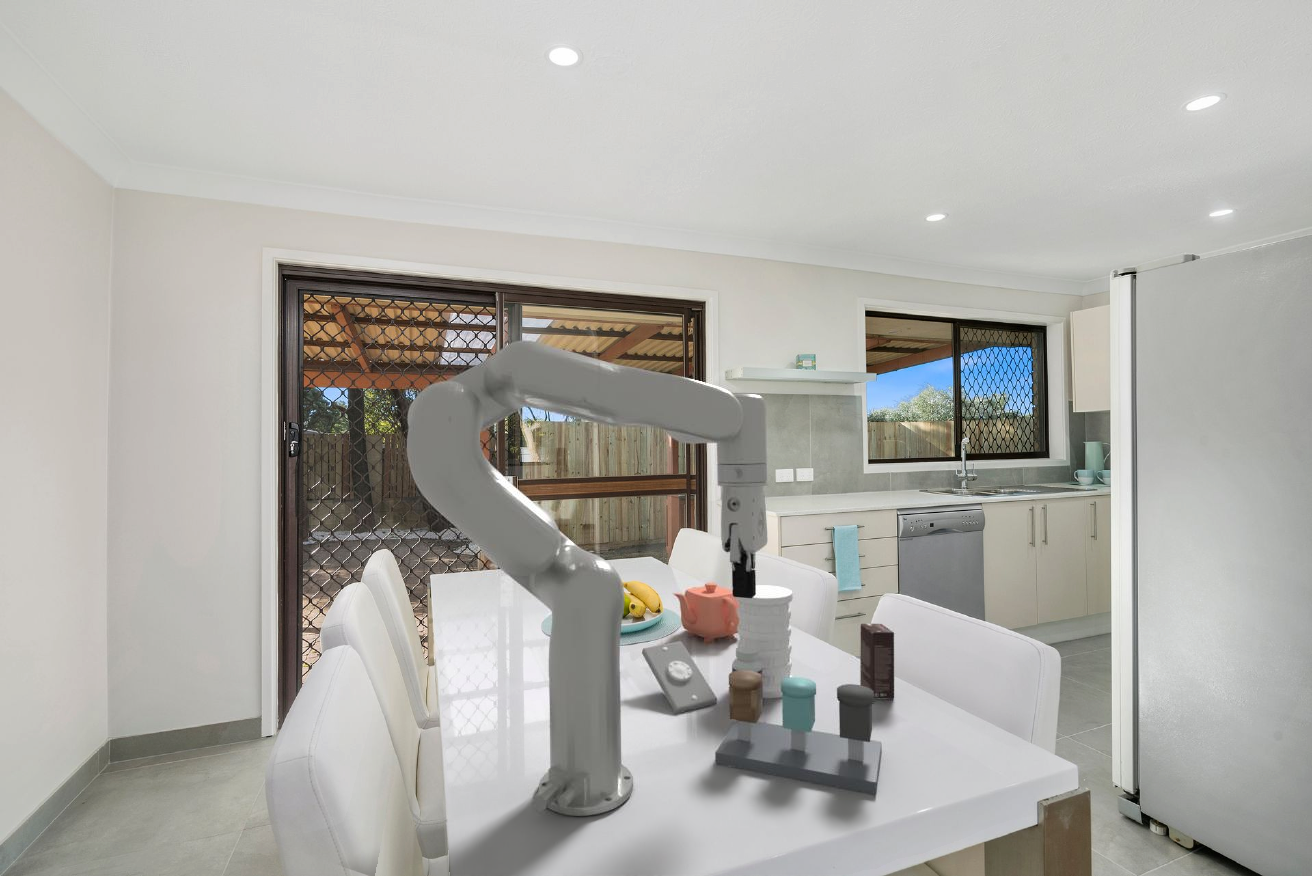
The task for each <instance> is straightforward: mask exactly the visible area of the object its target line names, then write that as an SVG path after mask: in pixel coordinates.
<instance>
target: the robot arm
mask: <svg viewBox="0 0 1312 876" xmlns="http://www.w3.org/2000/svg"><path fill="white" fill-rule="evenodd" d="M524 407H527V408H532V409H536V410H541V411H545V412H549V413H553V414H558V415H563V416H567V417H570V418H574V419H579V420H583V421H587V422H591V423H595V424H599V425H605V426H613V427H620V428H621V427H631V428H633V427H635V428H636V427H638V428H649V429H650V428H651V429H658V430H665V432H666V434H668V435H669V437H671V439H672V440H673V439H674V440H675V441H677V442H680V443H683V444H716V461H717V463H716V467H717V469H716V470H717V471H716V472H717V474H716V475H717V476H716V477H717V486H718V487H722V488H721V489H722V492H721V510H720V511H721V513H720V515H721V516H720V517H721V518H720V525H721V526H720V534H721V535H720V537H721V538H720V539H721V548H722V550H723V551H724V552H726V553H729V562H730V563H731V570H732V571H731V575H732V576H731V577H732V580H731V581H732V589H731V590H732V592H733V596H734V597H740V598H753V597H754V596H755V595H756V585H757V584H756V576H757V575H756V554H757V553H758V552H759V551H760V550H762V549H764V547H766V545H767V544H768V526H767V524H768V523H767V509H766V507H767V506H766V497H765V490H764V486H768V462H767V461H768V460H767V459H768V458H767V457H768V456H767V450H768V449H767V408H766V401H765V399H764V398H763V397H762V396H761V395H758V394H751V393H739V394H737V393H736V394H733V393H732V392H730V391H728V390H727V389H725V388H722V387H720V386H716V385H712V384H709V383H706V382H703V381H699V380H695V379H692V378H689V377H685V376H681V375H680V376H679V375H676V374H675V375H674V374H670V373H664V372H659V371H652V370H647V369H644V368H643V369H642V368H638V367H634V366H626V365H620V364H616V363H612V362H608V361H604V360H601V359H598V358H593V357H590V356H586V355H583V354H581V353H576V352H573V351H569V350H565V349H563V348H558V347H555V346H552V345H550V344H546V343H545V344H544V343H542V342H537V341H533V340H518V341H517V340H515V341H513V342H511V343H509V344H507V345H506V346H504V347H502V348H501V349H500V350H499V351H497V352H495V353H494V354H493V355H490V356H489V357H488V358H486V359H484V360H483V361H481V362H480V363H478V364H475V365H474V366H472V367H470V368H469V369H467V370H464V372H461V373H459V374H457V375H455V376H453V377H451V378H449V379H447V380H444V381H443V380H442V381H438V382H435V383H432V384H430V385H428V386H426V387H425V388H423V389H422V390H421V391H420V392H419V393H418V394H417V396H416V397H415V398H414V399H413V401H412V402H411V403H410V405H409V408H408V411H407V426H408V430H407V436H406V438H407V439H406V455H407V456H406V457H407V460H408V466H409V469H410V474H411V476H412V479H413V481H414V483H415V485H416V487H417V489H418V490H419V491H420V493H421V495H422V496H423V497H424V498H425V500H426V501H428V504H430V505H431V506H432V507H433V508H434V509H435V510H436V511H437V512H439V514H440V515H442V516H443V517H444V518H445V519H446V520H447V521H449V522H450V524H452V525H453V526H454V527H455V528H457V530H458V531H460V533H462V534H463V535H464V536H466V538H468V539H469V540H470V541H471V542H473V543H474V544H475V545H476V546H477V547H479V550H480V551H481V553H482V554H483V555H484V556H485V558H487V559H488V560H489V561H490V562H491V563H492V564H494V565H495V567H498V568H499V569H500V570H501V571H503V572H504V573H505V574H506V575H507V576H508V577H510V578H511V579H512V580H514V581H515V582H516V583H517V584H519V585H520V586H521V587H522V588H523V589H524V590H526V591H528V592H529V593H530V594H531V595H532V596H533V597H535V598H536V599H537V600H538V601H539V602H541V603H542V605H544V606H545V607H546V608H548V609H549V610H550V611H551V616H552V617H551V627H550V628H551V629H550V630H551V631H550V634H549V635H550V636H549V646H548V680H549V681H548V683H549V684H548V687H549V689H548V690H549V697H548V698H549V750H550V751H549V754H550V755H549V756H550V758H549V761H550V762H549V764H550V768H549V769H548V770H547V772H546V773H544V775H543V776H542V777H541V778H540V780H539V783H538V793H536V795H535V796H534V797H533V800H532V803H533V806H534V808H535V809H536V810H537V811H538V812H542V811H545V810H546V809H547V808H548V809H549V810H551V811H552V812H555V813H558V814H562V815H565V816H571V817H574V816H575V817H578V816H579V817H583V816H584V817H585V816H593V815H594V816H595V815H598V814H604V813H606V812H609V811H612V810H613V809H615V808H618V807H620V805H622V804H623V803H624V802H625V801H626V802H627V801H628V799H629V797H631V795H632V793H633V791H634V790H633V789H634V777H633V775H632V772H631V771H630V770H629V768H627V766H625V765H624V764H622V717H621V716H622V715H621V712H622V711H621V710H622V709H621V708H622V707H621V704H622V702H621V701H622V700H621V667H620V665H621V662H620V661H621V656H620V655H621V654H620V652H621V649H620V648H621V647H620V646H621V633H622V632H621V630H622V622H623V616H624V609H625V588H624V585H623V581H622V579H621V576H620V575H619V573H618V571H617V570H616V569H615V567H614V566H613V565H612V564H611V563H610V562H609V561H607V560H606V559H604V557H603V558H602V557H600V556H599V555H598V554H597V555H596V554H594V553H592V552H590V551H587V550H585V549H583V548H581V547H579V546H578V545H577V544H576V543H574V542H573V541H572V540H571V539H570V538H569V537H567V536H566V535H565V534H564V533H563V532H562V531H560V530H559V527H558V525H557V522H556V521H555V520H554V518H553V517H552V515H551V514H550V513H548V512H547V510H545V509H544V508H542V507H541V506H539V505H538V504H536V503H535V502H533V501H532V500H531V499H530V498H529V497H527V496H526V494H524V493H523V492H522V491H520V490H519V489H518V488H517V487H516V486H515V485H514V484H512V483H511V482H510V481H509V480H508V479H507V478H506V477H505V476H504V475H503V474H502V473H501V472H500V471H499V470H498V469H497V468H496V467H494V466H493V465H492V464H491V463H490V461H489V460H488V458H487V457H486V455H485V453H484V451H483V448H482V445H481V432H484V431H485V430H486V429H489V428H490V427H492V426H494V425H496V424H497V423H499V422H501V421H502V420H504V419H506V418H509V416H512V414H514V413H516V412H518V411H520V410H521V409H522V408H524Z"/></svg>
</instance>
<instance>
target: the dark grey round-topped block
mask: <svg viewBox="0 0 1312 876" xmlns="http://www.w3.org/2000/svg"><path fill="white" fill-rule="evenodd" d="M836 698H837V699H836V700H837V701H839V703H838V712H839V713H838V715H839V716H838V717H839V719H838V720H839V723H838V724H839V735H840V737H841V738H847V739H853V740H859V741H865V742H870V740H871V737H872V731H873V717H872V716H873V715H872V714H873V713H872V712H873V710H872V705H873V704H874V703H875V699H874V692H873V690H871V689H870V688H868V687H865V686H861V685H860V684H852V683H851V684H847V683H846V684H841V685H839V686H838V687H837V688H836Z"/></svg>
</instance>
